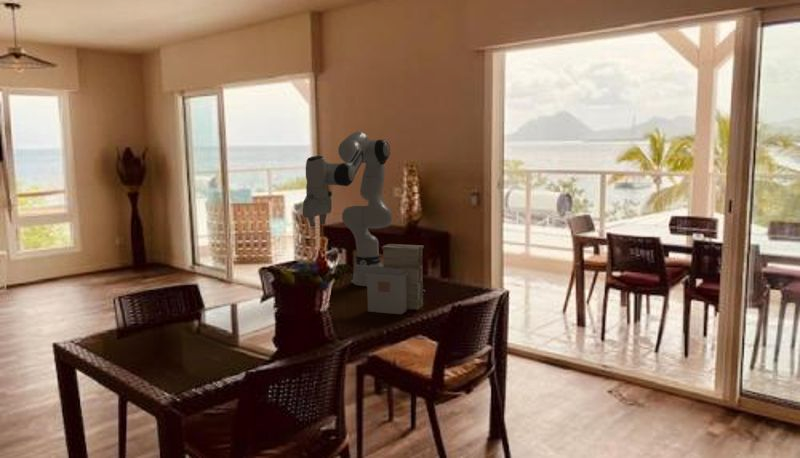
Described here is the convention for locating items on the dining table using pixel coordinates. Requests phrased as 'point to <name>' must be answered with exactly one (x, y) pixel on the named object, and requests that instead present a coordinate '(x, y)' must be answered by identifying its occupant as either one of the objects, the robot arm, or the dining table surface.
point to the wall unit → (408, 269)
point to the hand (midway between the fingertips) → (317, 225)
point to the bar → (380, 269)
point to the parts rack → (386, 293)
